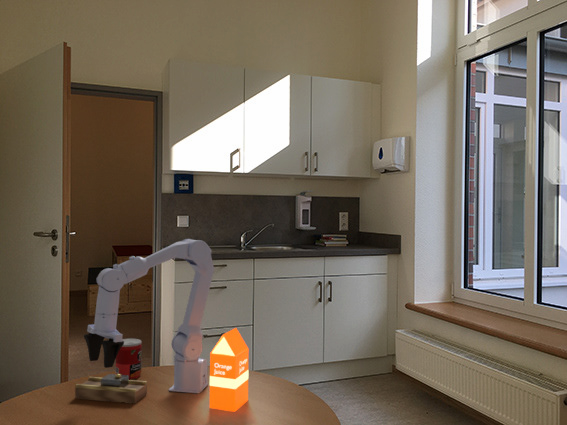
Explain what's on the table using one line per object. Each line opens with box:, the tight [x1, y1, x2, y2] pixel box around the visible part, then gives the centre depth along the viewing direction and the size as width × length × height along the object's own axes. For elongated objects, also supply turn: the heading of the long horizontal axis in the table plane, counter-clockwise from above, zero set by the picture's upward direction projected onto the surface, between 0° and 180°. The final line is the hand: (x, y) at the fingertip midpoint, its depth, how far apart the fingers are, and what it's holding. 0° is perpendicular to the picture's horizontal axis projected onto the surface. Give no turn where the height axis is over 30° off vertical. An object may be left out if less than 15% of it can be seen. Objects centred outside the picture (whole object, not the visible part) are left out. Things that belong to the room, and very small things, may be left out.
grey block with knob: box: [101, 373, 129, 388], centre depth 139 cm, size 6×4×3 cm
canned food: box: [115, 338, 143, 380], centre depth 157 cm, size 8×8×11 cm
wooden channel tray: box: [74, 376, 148, 405], centre depth 139 cm, size 18×7×4 cm, turn 79°
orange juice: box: [209, 327, 250, 413], centre depth 135 cm, size 8×9×20 cm
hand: (101, 363), depth 133 cm, fingers open, 7 cm apart
